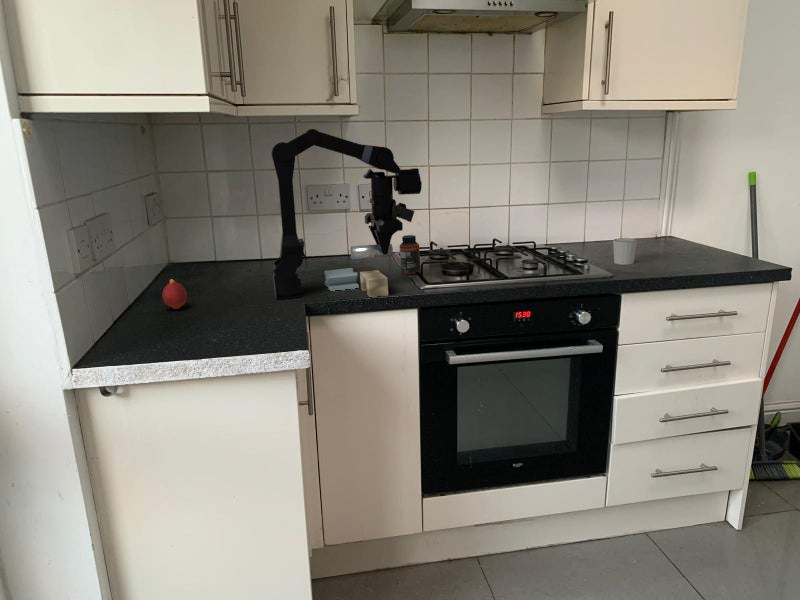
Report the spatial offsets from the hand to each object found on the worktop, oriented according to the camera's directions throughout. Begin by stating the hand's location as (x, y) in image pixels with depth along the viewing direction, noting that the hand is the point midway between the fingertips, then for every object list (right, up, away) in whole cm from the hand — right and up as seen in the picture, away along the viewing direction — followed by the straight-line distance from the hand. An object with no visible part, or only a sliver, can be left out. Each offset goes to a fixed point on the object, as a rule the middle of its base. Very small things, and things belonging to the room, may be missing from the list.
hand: (383, 253), depth 161 cm
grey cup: (+73, -2, +18) cm, 75 cm away
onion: (-52, -15, -11) cm, 56 cm away
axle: (-3, 0, -1) cm, 3 cm away
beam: (-2, -11, -3) cm, 11 cm away
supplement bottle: (+8, -5, +17) cm, 19 cm away
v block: (-12, -9, +5) cm, 16 cm away
